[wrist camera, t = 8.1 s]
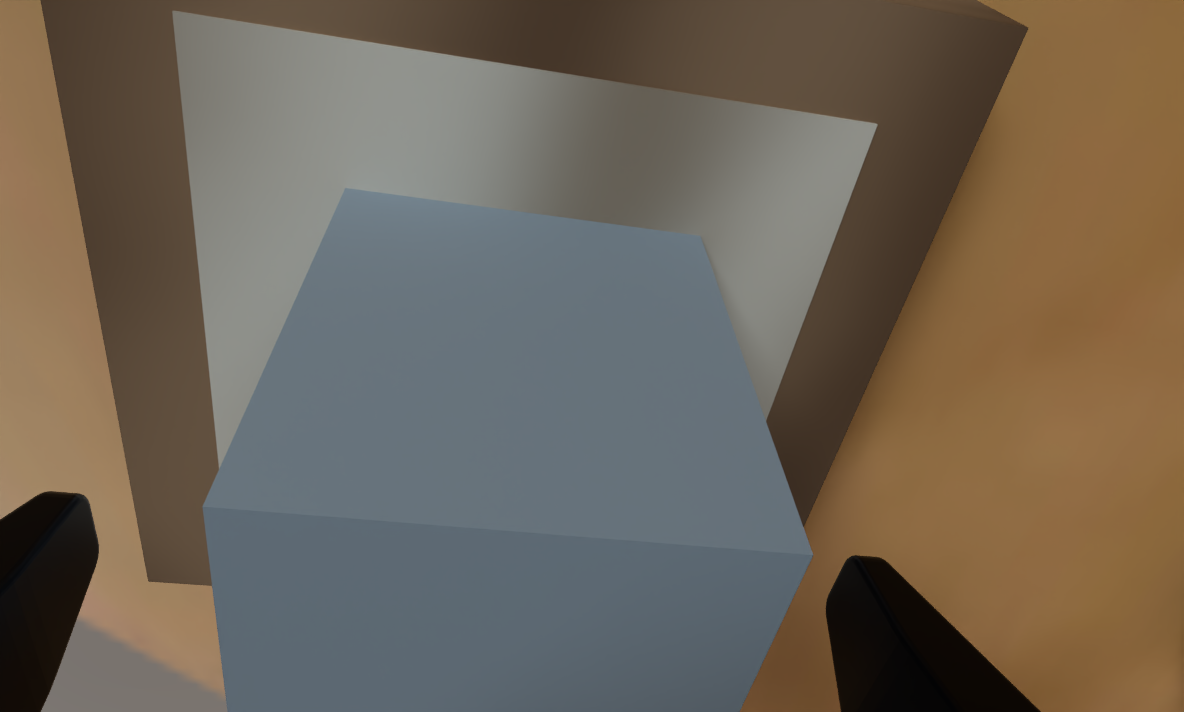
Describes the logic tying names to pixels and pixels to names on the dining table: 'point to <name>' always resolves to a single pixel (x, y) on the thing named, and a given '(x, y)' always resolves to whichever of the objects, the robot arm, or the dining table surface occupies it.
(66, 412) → the dining table surface
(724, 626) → the slate-blue block
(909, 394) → the dining table surface
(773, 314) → the walnut pedestal
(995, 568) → the dining table surface
